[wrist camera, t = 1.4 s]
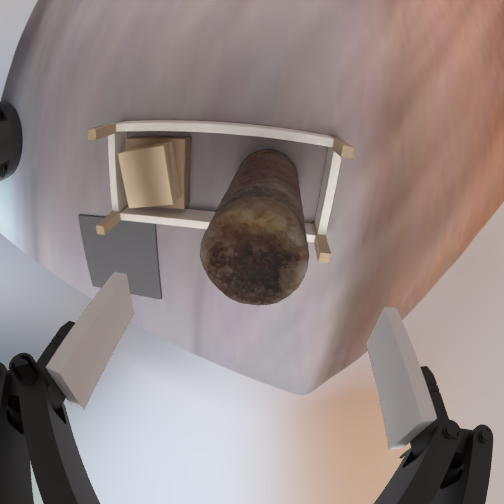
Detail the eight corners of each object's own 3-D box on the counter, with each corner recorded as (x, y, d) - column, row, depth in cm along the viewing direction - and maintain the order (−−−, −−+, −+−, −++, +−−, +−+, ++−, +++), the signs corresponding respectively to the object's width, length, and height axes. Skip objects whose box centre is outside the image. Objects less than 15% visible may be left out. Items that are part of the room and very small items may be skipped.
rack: (124, 209, 39) (97, 234, 32) (121, 121, 32) (87, 129, 26) (319, 231, 38) (328, 263, 31) (337, 137, 32) (354, 147, 25)
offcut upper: (139, 200, 35) (129, 208, 33) (129, 148, 32) (117, 153, 29) (180, 196, 35) (173, 204, 32) (172, 141, 31) (163, 145, 29)
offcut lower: (138, 197, 38) (128, 204, 36) (136, 135, 34) (125, 138, 31) (190, 201, 38) (184, 209, 36) (192, 136, 34) (185, 139, 31)
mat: (94, 284, 47) (93, 285, 47) (79, 214, 40) (78, 215, 40) (162, 297, 47) (161, 299, 46) (155, 221, 40) (154, 223, 39)
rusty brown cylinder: (250, 212, 38) (226, 317, 21) (227, 162, 35) (175, 232, 17) (305, 193, 36) (330, 288, 19) (284, 139, 33) (294, 187, 15)
